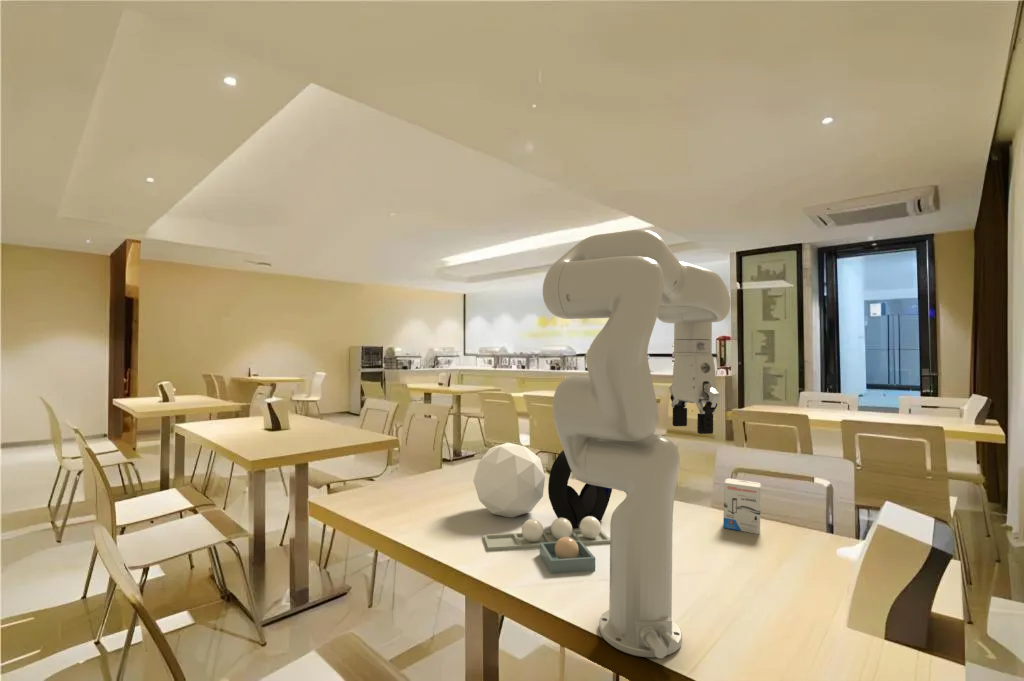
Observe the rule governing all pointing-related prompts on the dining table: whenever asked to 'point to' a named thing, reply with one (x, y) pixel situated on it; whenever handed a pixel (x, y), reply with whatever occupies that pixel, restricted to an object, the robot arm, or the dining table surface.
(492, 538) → the carton
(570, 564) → the dish
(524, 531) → the white egg
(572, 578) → the dining table surface
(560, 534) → the white egg
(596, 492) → the headphones
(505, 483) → the polyhedron
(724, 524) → the ink box
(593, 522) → the white egg
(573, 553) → the brown egg
